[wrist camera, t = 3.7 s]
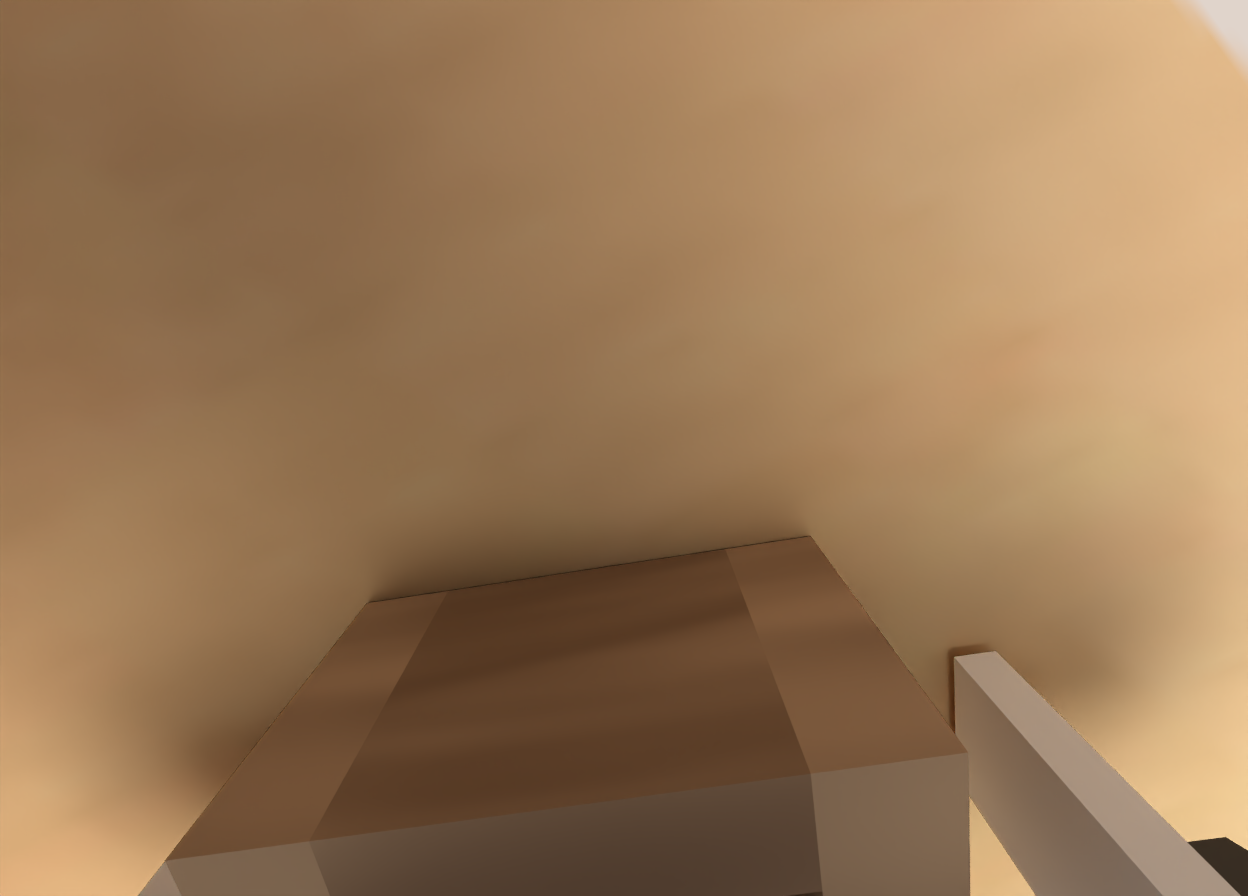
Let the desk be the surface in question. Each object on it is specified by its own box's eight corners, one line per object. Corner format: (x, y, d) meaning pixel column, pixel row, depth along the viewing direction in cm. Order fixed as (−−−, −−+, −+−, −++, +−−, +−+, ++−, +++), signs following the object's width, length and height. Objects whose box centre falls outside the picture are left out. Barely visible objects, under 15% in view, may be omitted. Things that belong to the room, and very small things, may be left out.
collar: (366, 603, 11) (164, 860, 6) (810, 536, 11) (968, 753, 6) (469, 929, 13) (379, 1312, 8) (840, 882, 13) (974, 1252, 8)
